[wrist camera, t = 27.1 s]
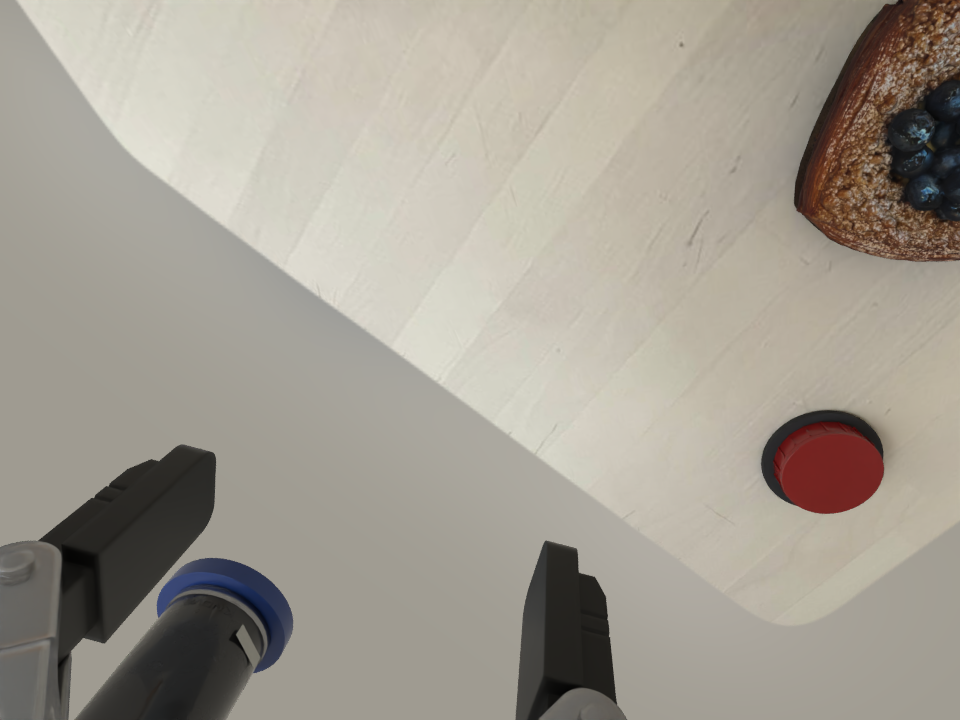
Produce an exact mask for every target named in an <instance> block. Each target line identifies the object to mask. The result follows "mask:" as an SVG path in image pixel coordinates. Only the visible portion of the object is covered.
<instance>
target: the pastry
mask: <svg viewBox="0 0 960 720" xmlns="http://www.w3.org/2000/svg"><path fill="white" fill-rule="evenodd" d="M794 204H795V207H796V208H797V211H798V212H800V213H802V215H804V216H805V217H806V218H807V219H808V220H809V221H810V222H811V223H812V224H813V225H814V226H815V227H816V228H817V229H818V230H820V231H821V232H822V233H824V234H825V235H826V236H827V237H828V238H829V239H831V240H833V241H835V242H837V243H838V244H840V245H844V246H846V247H849V248H851V249H853V250H857V251H859V252H864V253H867V254H870V255H874V256H878V257H883V258H888V259H896V260H908V261H915V262H917V261H922V262H926V261H955V260H960V0H898V2H897V3H896V4H893V5H889V4H885V5H884V6H883V9H882V10H881V11H880V12H879V13H878V14H877V15H876V16H875V17H874V19H873V20H872V21H871V22H870V23H869V25H868V26H867V27H866V29H865V30H864V32H863V33H862V35H861V36H860V38H859V39H858V41H857V42H856V44H855V46H854V47H853V49H852V51H851V53H850V54H849V56H848V59H847V61H846V63H845V64H844V66H843V68H842V70H841V72H840V75H839V77H838V79H837V81H836V83H835V85H834V87H833V88H832V90H831V92H830V94H829V96H828V98H827V100H826V102H825V104H824V106H823V108H822V111H821V113H820V115H819V117H818V120H817V122H816V124H815V126H814V129H813V131H812V133H811V136H810V138H809V141H808V144H807V147H806V150H805V152H804V155H803V157H802V160H801V163H800V167H799V171H798V175H797V179H796V183H795V197H794Z"/></svg>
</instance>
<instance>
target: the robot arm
mask: <svg viewBox="0 0 960 720" xmlns="http://www.w3.org/2000/svg"><path fill="white" fill-rule="evenodd" d="M215 472H216V457H215V454H214V453H213V452H210V451H206V450H202V449H198V448H194V447H191V446H187V445H179V446H177V447H176V448H174V449H173V450H172V451H171V452H170V453H168V454H167V455H166V456H165V457H164V458H162V459H161V460H160V461H156V460H152V459H151V460H148V461H146V462H144V463H141V464H139V465H137V466H134V467H132V468H129V469H127V470H126V471H125V472H123V473H122V474H121V475H120V476H118V477H117V478H116V479H115V480H113V481H112V482H111V483H110V485H109V487H107V486H106V487H105V488H104V489H102V490H101V491H100V492H99V493H97V494H96V495H95V498H91V499H90V500H88V501H87V502H86V503H85V504H83V505H82V506H81V507H80V508H79V509H77V510H76V511H75V512H74V513H72V514H71V515H70V516H68V517H67V518H66V519H65V520H63V521H62V522H61V523H60V524H58V525H57V526H56V527H55V528H53V529H52V530H51V531H50V532H48V533H47V534H46V535H45V536H43V538H41V539H40V540H38V541H22V542H16V543H11V544H8V545H4V546H2V547H0V720H68V715H69V698H70V680H71V679H70V678H71V661H72V658H71V650H72V649H73V648H74V647H75V646H76V645H77V644H78V643H79V642H80V641H81V640H82V638H86V639H90V640H94V641H97V642H101V643H105V642H106V641H107V640H108V639H109V638H110V637H111V636H112V634H113V633H114V632H115V631H116V630H117V629H118V628H119V626H120V625H121V624H122V623H123V622H124V621H125V620H126V618H127V617H128V616H129V615H130V614H131V613H132V612H133V610H134V609H135V608H136V607H137V606H138V605H139V604H140V602H141V601H142V600H143V599H144V598H145V597H146V596H147V594H148V593H149V592H150V591H151V590H152V589H153V588H154V586H155V585H156V584H157V583H158V582H159V581H160V580H161V578H162V577H163V576H164V575H165V574H166V573H167V571H168V570H169V569H170V568H171V567H172V566H173V565H174V564H175V562H176V561H177V560H178V559H179V558H180V557H181V556H182V554H183V553H184V552H185V551H186V550H187V549H188V548H189V546H190V545H191V544H192V543H193V542H194V541H195V540H196V538H197V537H198V536H199V535H200V534H201V533H202V532H203V530H204V529H205V527H206V526H207V524H208V522H209V520H210V518H211V515H212V512H213V509H214V498H215ZM607 617H608V614H607V605H606V596H605V595H604V593H603V591H602V589H601V587H600V585H599V583H598V582H597V580H596V578H595V577H593V576H589V575H585V574H581V573H579V571H578V553H577V549H576V548H573V547H569V546H565V545H561V544H557V543H554V542H550V541H545V542H544V545H543V547H542V550H541V553H540V556H539V559H538V562H537V565H536V568H535V571H534V574H533V577H532V580H531V583H530V586H529V589H528V593H527V596H526V601H525V606H524V613H523V624H522V638H521V652H520V665H519V679H518V694H517V708H516V720H627V719H626V717H625V715H624V713H623V712H622V711H621V709H620V708H619V707H618V706H617V702H616V693H615V684H614V674H613V664H612V654H611V644H610V637H609V625H608V620H607ZM270 637H271V636H270V630H269V626H268V624H267V622H266V620H265V618H264V616H263V615H262V614H261V612H260V611H259V610H258V609H257V608H256V607H255V606H254V605H253V604H252V603H251V602H250V601H249V600H247V599H246V598H244V597H243V596H241V595H240V594H238V593H236V592H234V591H232V590H229V589H227V588H223V587H220V586H216V585H207V584H201V585H194V586H190V587H187V588H185V589H183V590H181V591H180V592H179V593H177V595H176V596H175V597H174V598H173V599H172V600H171V602H170V603H169V604H168V605H167V607H166V609H165V611H164V612H163V613H162V614H161V616H160V617H159V618H158V619H157V621H156V622H155V623H154V624H153V625H152V627H151V628H150V629H149V630H148V631H147V632H146V634H145V635H144V636H143V637H142V638H141V640H140V641H139V642H138V643H137V644H136V646H135V647H134V648H133V649H132V650H131V652H130V653H129V654H128V655H127V657H126V658H125V659H124V660H123V661H122V663H121V664H120V665H119V666H118V667H117V669H116V670H115V671H114V672H113V674H112V675H111V676H110V677H109V678H108V680H107V681H106V682H105V683H104V684H103V686H102V687H101V688H100V689H99V690H98V692H97V693H96V694H95V695H94V697H93V698H92V699H91V700H90V701H89V703H88V704H87V705H86V707H84V709H83V710H82V711H81V712H80V714H79V715H78V716H77V717H76V719H75V720H226V719H227V717H228V715H229V714H230V712H231V710H232V708H233V707H234V705H235V703H236V702H237V700H238V698H239V696H240V695H241V693H242V691H243V690H244V688H245V686H246V684H247V683H248V681H249V679H250V677H251V676H252V674H253V672H254V670H255V669H256V667H257V665H258V664H259V663H260V662H261V660H262V659H263V657H264V655H265V653H266V652H267V650H268V648H269V645H270Z"/></svg>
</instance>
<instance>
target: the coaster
mask: <svg viewBox="0 0 960 720" xmlns="http://www.w3.org/2000/svg"><path fill="white" fill-rule="evenodd" d="M821 421H822V422H840V423H842V424H846V425H848V426H851V427H855V428H856V429H857V430H858V431H859V432H860V433H862V435H863V436H864V437H865V436H866V437H867V438H868V439H869V440H870V441H871V442H872V443H873V444H874V445H875V448H876V449H877V450H878V452H879V453H880V455H881V457H882V460H883V448H882V444H881V441H880V439H879V437H878V435H877V434H876V432H875V431H874V430H873V429H872V428H871V427H870V426H869V425H868V424H867V423H866V422H865V421H863V420H861V419H860V418H858V417H856V416H854V415H851V414H848V413H845V412H839V411H817V412H811V413H808V414H804V415H801V416H799V417H796V418H794V419H792V420H790V421H789V422H787V423H786V424H784V425H783V426H782V427H780V428H779V429H778V430H777V431H776V432H775V433H774V434H773V435H772V437H771V438H770V439H769V441H768V443H767V444H766V446H765V449H764V451H763V455H762V462H761V466H762V473H763V476H764V478H765V481H766V483H767V484H768V486H769V487H770V489H771V490H772V491H773V492H774V493H775V494H776V495H777V496H778V497H780V498H781V499H783V500H784V501H786V502H788V503H790V504H793V505H796V504H794V503H793V502H792V501H791V500H790V499H789V498H788V496H786V495H785V493H784V492H783V490H782V488H781V487H780V484H779V483H778V481H777V479H776V478H775V476H774V473H775V472H774V463H773V460H774V458H775V455H776V452H777V450H778V447H779V446H780V445H781V444H782V442H783V441H784V440H785V439H786V438H787V437H788V435H790V434H792V433H793V432H795V431H796V430H798V429H800V428H802V427H803V426H807V425H810V424H814V423H819V422H821ZM796 506H797V505H796Z"/></svg>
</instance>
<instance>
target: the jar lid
mask: <svg viewBox="0 0 960 720" xmlns="http://www.w3.org/2000/svg"><path fill="white" fill-rule="evenodd" d="M773 463H774V472H775V473H774V476H775V478H776V479H777V481H778V483H779V484H780V487H781V488H782V490H783V492H784V493H785V495H786V496H788V498H789V499H790V500H791V501H792V502H793V503H794V504H796V505H797V506H799V507H801V508H802V509H805V510H807V511H811V512H814V513H822V514H832V513H839V512H843V511H847V510H850V509H853V508H855V507H857V506H859V505H860V504H862V503H864V502H865V501H866V500H868V499H869V498H870V497H871V496H872V495H873V494H874V493H875V491H876V490H877V489H878V487H879V485H880V483H881V481H882V478H883V473H884V465H883V460H882V457H881V455H880V453H879V452H878V450H877V449H876V448H875V445H874V444H873V443H872V442H871V441H870V440H869V439H868V438H867V437H866V436H865V437H864V436H863V435H862V433H860V432H859V431H858V430H857V429H856V428H855V427H851V426H848V425H846V424H842V423H840V422H822V421H821V422H819V423H814V424H810V425H807V426H803V427H802V428H800V429H798V430H796V431H795V432H793V433H792V434H790V435H788V437H787V438H786V439H785V440H784V441H783V442H782V444H781V445H780V446H779V447H778V450H777V452H776V455H775V458H774V460H773Z"/></svg>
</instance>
